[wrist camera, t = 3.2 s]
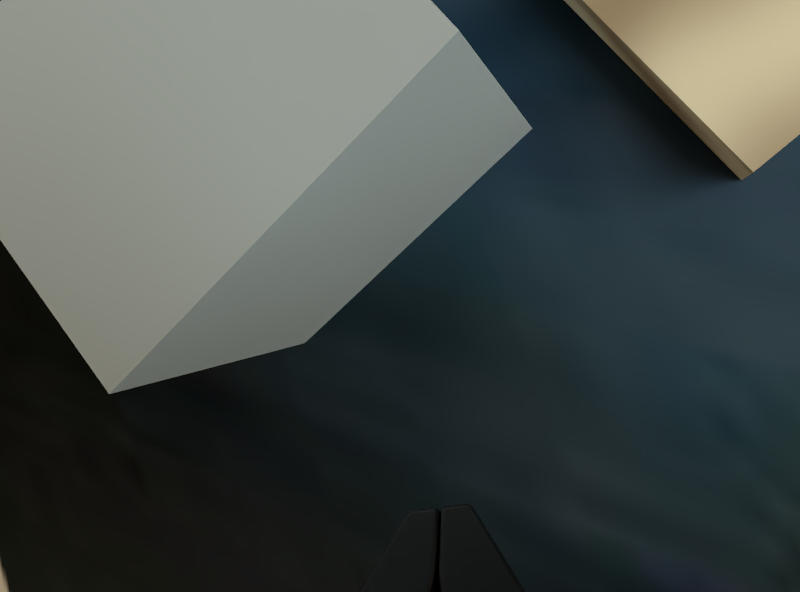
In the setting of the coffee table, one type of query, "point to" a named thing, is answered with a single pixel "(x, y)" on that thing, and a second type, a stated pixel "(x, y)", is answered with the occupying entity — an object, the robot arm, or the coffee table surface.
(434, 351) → the coffee table surface
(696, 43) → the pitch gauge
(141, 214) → the block
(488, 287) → the coffee table surface
